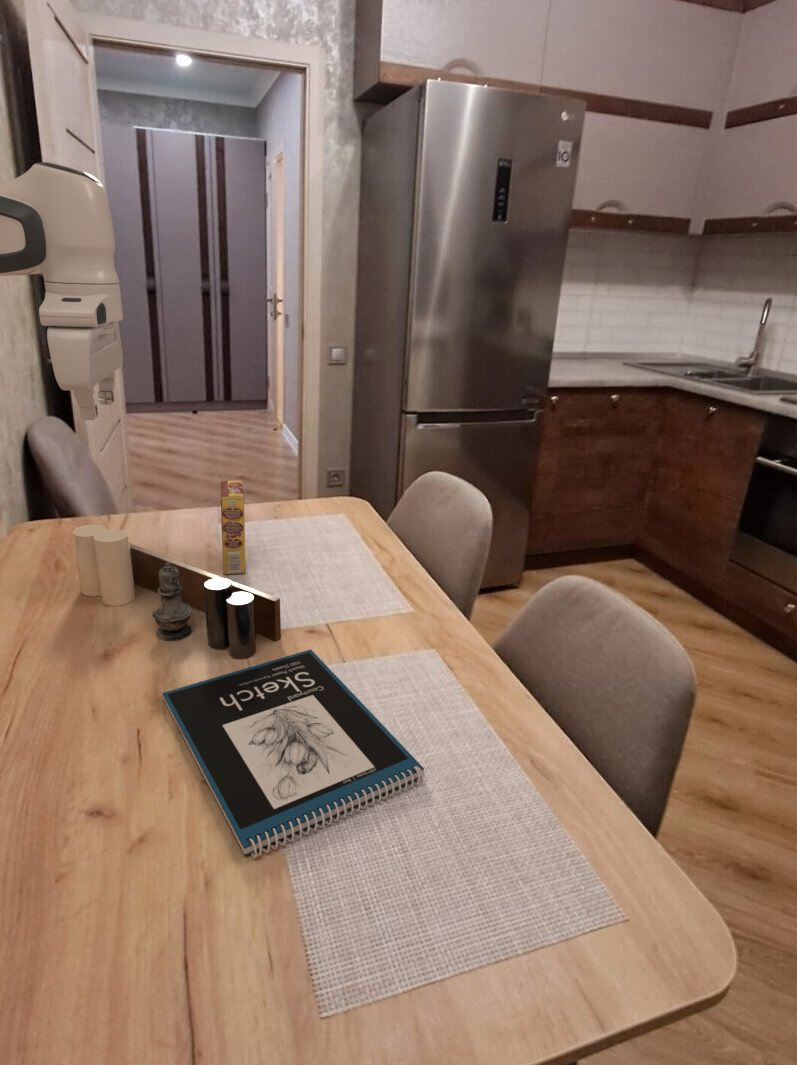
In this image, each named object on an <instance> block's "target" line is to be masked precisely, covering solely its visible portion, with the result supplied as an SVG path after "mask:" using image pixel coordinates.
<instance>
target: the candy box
mask: <svg viewBox="0 0 797 1065" xmlns="http://www.w3.org/2000/svg"><path fill="white" fill-rule="evenodd" d="M219 487H220V488H219V489H220V492H219V493H220V517H221V518H220V519H221V520H220V522H221V523H220V524H221V547H222V548H221V549H222V568H223V569H222V570H223V571H222V572H223V573H222V574H223V575H241V574H246V528H245V527H246V524H245V523H246V522H245V521H246V520H245V519H246V518H245V494H244V486H243V481H242V480H237V479H235V480H233V479H232V480H223V481H222V480H221V481H219Z"/></svg>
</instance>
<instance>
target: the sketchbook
mask: <svg viewBox="0 0 797 1065" xmlns="http://www.w3.org/2000/svg"><path fill="white" fill-rule="evenodd" d="M162 700H163V702H164V704H165V706H166V708H167V709H168V712H169V715H171V717H172V719H173V721H174V723H175V725H176V727H177V729H178V731H179V733H180V734H181V737H182V739H183V741H184V742H185V744H186V746H187V749H188V750H189V752H190V754H191V756H192V758H193V759H194V761H195V763H196V765H197V767H198V769H199V771H200V773H201V775H202V777H203V779H204V781H205V783H206V785H207V786H208V788H209V790H210V792H211V794H212V797H213V798H214V800H215V802H216V803H217V806H218V807H219V809H220V812H221V813H222V815H223V818H224V819H225V821H226V823H227V825H228V826H229V829H230V830H231V833H232V834H233V836H234V838H235V840H236V842H237V844H238V846H239V847H240V850H241V851H242V853H243V855H244V857H245V856H247V855H251V856H252V858H253V859H257V858H259V857H261V856H262V852H264V853H265V854H268V853H269V852H270V850H271V849H272V850H277V849H278V847H279V846H281V847H284V846H285V845H286V842H288V843H292V842H293V841H294V839H295V838H296V839H297V840H299V839H301V837H302V835H304V836H307V835H309V834H310V831H311V832H312V833H313V832H316V831H317V829H323V828H324V827H325V825H326V826H330V825H332V822H334V823H336V822H338V821H339V819H346V817H347V816H352V815H353V813H354V812H355V813H358V812H359V811H360V810H361V809H362V810H365V809H367V807H368V806H369V807H372V806H373V805H374V804H375V803H377V804H378V803H380V802H381V800H383V801H384V800H386V799H387V800H388V797H393V796H394V795H395V794H397V795H399V794H400V792H401V791H402V792H405V791H406V790H407V789H411V788H413V786H418V785H419V784H422V783H423V782H424V776H425V768H424V766H423V765H421V763H420V762H419V761H418V760H417V759H416V758H415V757H414V756H413V755H412V754H411V753H410V752H409V751H408V750H407V749H406V748H405V747H404V746H403V744H402V743H401V742H400V741H399V740H398V739H397V738H396V737H395V736H394V735H393V734H392V733H391V732H390V731H389V730H388V728H386V726H384V724H383V723H381V721H380V720H379V719H378V718H377V717H376V716H375V715H374V713H373V712H371V711H370V709H368V708H367V706H365V705H364V703H362V701H361V700H360V699H359V698H358V697H357V696H356V695H355V694H354V693H353V692H352V691H351V690H350V688H348V687H347V685H346V684H345V683H344V682H343V681H342V680H341V679H340V678H339V677H338V676H337V675H336V674H335V672H333V670H331V669H330V668H329V666H327V664H325V662H324V661H323V660H322V659H321V658H320V657H319V656H318V655H317V654H316V653H315V651H313V649H312V648H311V649H307V650H303V651H301V652H296V653H294V654H290V655H286V656H283V657H280V658H276V659H273V660H269V661H266V662H263V663H259V664H255V665H253V666H248V667H246V668H243V669H242V668H241V669H239V670H236V671H232V672H229V673H226V674H222V675H218V676H215V677H211V678H207V679H205V680H201V681H198V682H195V683H192V684H188V685H185V686H182V687H178V688H175V689H171V690H168V691H167V690H166V691H165V692H162ZM415 781H416V782H415ZM409 783H411V784H410V785H409ZM402 786H404V788H403V787H402ZM395 789H398V790H395ZM389 792H391V794H389ZM382 795H385V796H384V797H383V796H382ZM377 797H378V799H376V798H377ZM370 800H371V803H370V802H368V801H370ZM364 803H365V804H364ZM362 804H364V806H363V805H362ZM357 806H358V807H357ZM355 807H357V809H355ZM348 810H350V812H348ZM342 813H343V815H341V814H342ZM334 817H336V818H334ZM328 819H329V822H328V821H327V820H328ZM321 822H322V824H321V825H320V823H321ZM313 826H314V828H312V827H313ZM306 829H307V830H306ZM304 830H306V831H304ZM298 833H299V835H297V834H298ZM290 836H291V839H290V838H289V837H290ZM281 840H283V842H282V841H281ZM274 843H275V845H273V844H274ZM266 847H267V849H266ZM257 851H259V852H257Z"/></svg>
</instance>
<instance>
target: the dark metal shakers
mask: <svg viewBox="0 0 797 1065" xmlns="http://www.w3.org/2000/svg"><path fill="white" fill-rule="evenodd" d="M230 580H231V579H229V578H226V577H223V578H213V579H209V580H207V581H206V582H205V583H204V599H205V612H206V613H205V612H204V613H205V624H206V638H207V646H208V647H209V648H211V649H213V650H225V649H228V654H229V656H230V657H231V658H234V659H236V660H243V659H244V660H245V659H249V658H252V657H253V656H254V655H255V654H256V653H257V633H256V628H255V604H254V596H253V595H252V594H251V593H248V592H235V593H232V582H231V581H232V580H231V581H230Z"/></svg>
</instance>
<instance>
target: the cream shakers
mask: <svg viewBox="0 0 797 1065" xmlns="http://www.w3.org/2000/svg"><path fill="white" fill-rule="evenodd" d="M71 534H72V539H73V546H74V553H75V560H76V565H77V573H78V580H79V586H80V591H81V592H80V593H81V594H82V595H84V596H85V597H86V596H87V597H101V600H102V603H103V604H104V605H106V606H111V607H119V606H120V607H121V606H124V605H127V604H128V605H129V604H130V603H132V602H133V601H135V599H136V597H137V596H136V587H135V584H134V577H133V569H132V561H131V552H130V544H129V543H130V536H129V532H128V531H126V530H125V529H118V528H117V529H116V528H115V529H114V528H113V529H107V527H106V526H105V525H102V524H96V523H95V524H93V523H92V524H84V525H81V526H78V527H75V528H74V529H73V530H72V533H71Z"/></svg>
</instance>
